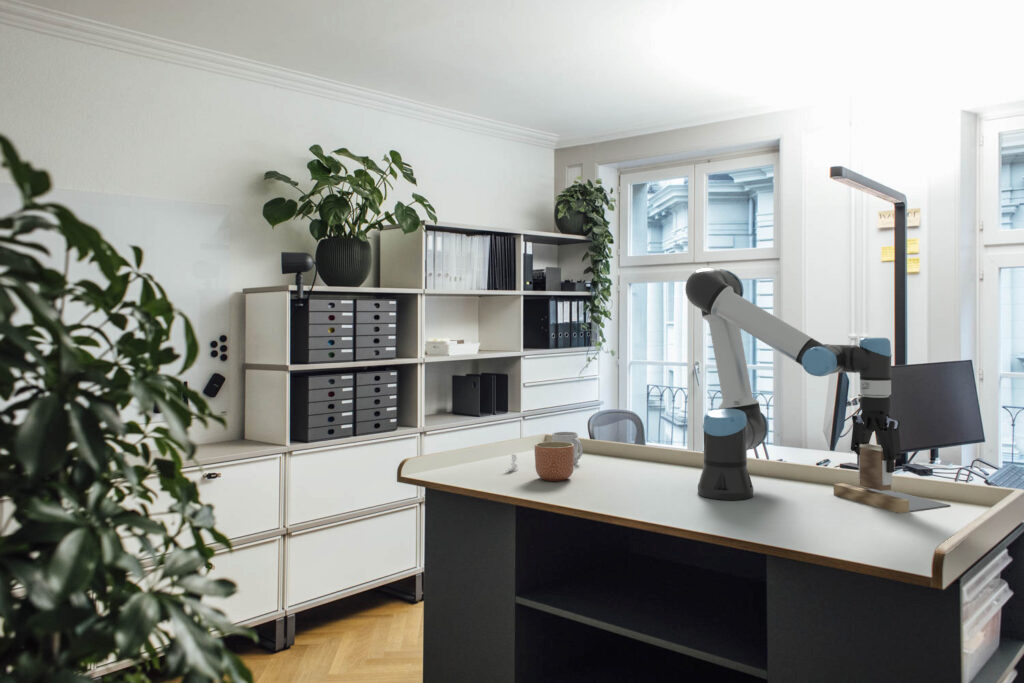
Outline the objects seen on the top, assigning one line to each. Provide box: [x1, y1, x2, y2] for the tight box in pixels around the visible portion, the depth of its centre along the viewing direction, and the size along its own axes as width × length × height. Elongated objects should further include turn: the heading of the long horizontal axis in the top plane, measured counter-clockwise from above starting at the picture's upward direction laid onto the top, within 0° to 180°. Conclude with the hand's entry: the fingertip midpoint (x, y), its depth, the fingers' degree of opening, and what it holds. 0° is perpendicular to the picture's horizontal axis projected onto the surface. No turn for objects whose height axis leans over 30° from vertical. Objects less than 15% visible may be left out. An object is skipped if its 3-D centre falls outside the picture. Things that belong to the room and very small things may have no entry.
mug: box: [551, 431, 584, 465], centre depth 264 cm, size 11×10×10 cm
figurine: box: [506, 453, 519, 473], centre depth 251 cm, size 8×8×6 cm
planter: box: [534, 440, 575, 482], centre depth 237 cm, size 12×12×11 cm
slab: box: [859, 442, 892, 491], centre depth 202 cm, size 7×4×11 cm, turn 21°
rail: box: [833, 482, 909, 514], centre depth 201 cm, size 22×3×3 cm, turn 21°
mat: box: [867, 488, 951, 513], centre depth 204 cm, size 22×14×1 cm, turn 21°
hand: (875, 481), depth 202 cm, fingers closed on slab, 7 cm apart
